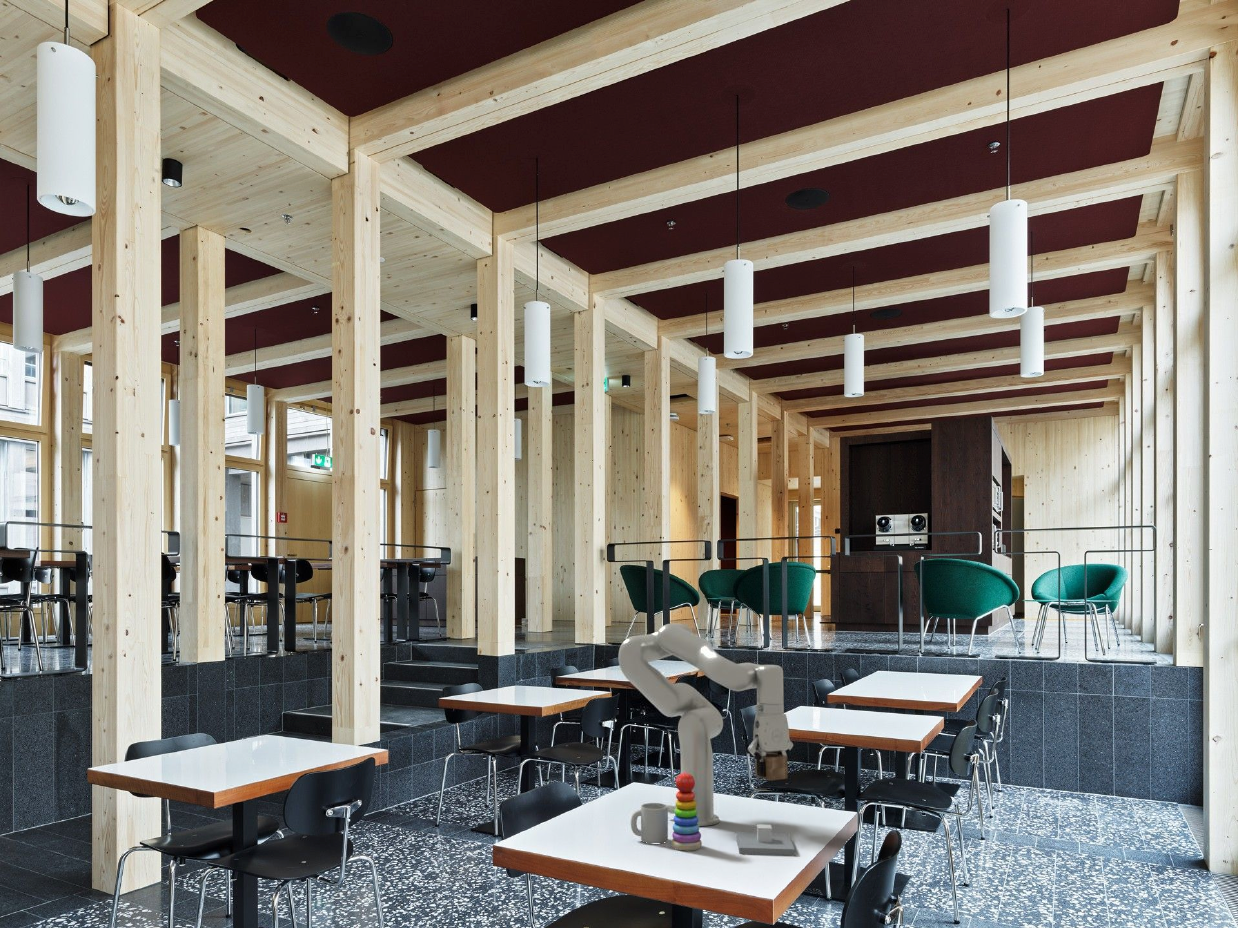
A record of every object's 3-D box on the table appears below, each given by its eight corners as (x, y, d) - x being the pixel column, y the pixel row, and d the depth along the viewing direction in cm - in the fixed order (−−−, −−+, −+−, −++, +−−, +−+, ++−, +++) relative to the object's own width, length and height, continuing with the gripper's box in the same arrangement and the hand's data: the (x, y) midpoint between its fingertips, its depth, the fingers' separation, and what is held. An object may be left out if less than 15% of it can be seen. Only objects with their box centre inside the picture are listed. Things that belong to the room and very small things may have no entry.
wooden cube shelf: (769, 780, 239) (769, 757, 240) (755, 776, 245) (754, 754, 246) (787, 778, 242) (787, 756, 243) (772, 774, 248) (772, 752, 249)
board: (739, 853, 220) (739, 832, 221) (736, 837, 235) (736, 818, 236) (794, 855, 219) (794, 834, 220) (788, 839, 234) (788, 819, 234)
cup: (668, 844, 228) (668, 809, 229) (630, 844, 228) (631, 808, 229) (667, 837, 235) (666, 802, 236) (630, 836, 235) (630, 802, 236)
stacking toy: (671, 842, 230) (671, 769, 233) (701, 843, 229) (701, 769, 232) (670, 850, 222) (670, 775, 225) (701, 851, 221) (701, 775, 224)
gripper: (754, 712, 239) (755, 780, 236) (802, 709, 248) (803, 774, 245) (738, 709, 245) (738, 774, 243) (784, 706, 254) (785, 769, 251)
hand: (771, 773), depth 244 cm, fingers closed on wooden cube shelf, 6 cm apart
